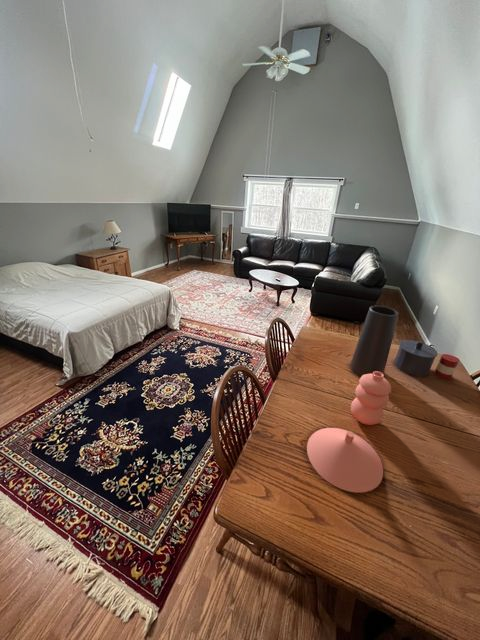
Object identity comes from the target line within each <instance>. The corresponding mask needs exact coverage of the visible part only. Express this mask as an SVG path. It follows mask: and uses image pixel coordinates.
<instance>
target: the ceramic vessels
mask: <svg viewBox="0 0 480 640" xmlns="http://www.w3.org/2000/svg"><path fill="white" fill-rule="evenodd" d="M358 382H359V383H358V384H357V386H356V387H355V396H356V397H355V398H354V399H353V400H352V402H351V404H350V412H351V414H352V416H353V417H354V419H355V420H356V421H358V422H360V423H361V424H364V425H368V426H373V425H377V424H379V423H380V422H381V421H382V420H383V417H384V407H386V406H387V404H388V403H389V401H390V396H389V394H390V393H391V392H392V385H391V383H390V381H389V380H387V379H386V378H385V375H384V374H383V373H381V372H378V371H374V372H373V374H365V375H363V376H362V377H360V378H359V380H358ZM306 453H307V457H308V459H309V463H310V464H311V466H312V468H313V469H314V470H315V471H316V472H317V473H318V475H319V476H320V477H321V478H322V479H324V481H326V482H327V483H329V484H331V485H332V486H334V487H336V488H338V489H340V490H343V491H346V492H351V493H356V494H358V493H360V494H361V493H367V492H370V491H373V490H375V489H376V488H377V487H378V486H379V485H380V484H381V483H382V480H383V477H384V467H383V462H382V460H381V458H380V456H379V454H378V452H377V451H376V450H375V448H373V446H372V445H371V444H369V442H367V441H366V440H364V439H363V438H362V437H361V436H359V435H357V434H356V433H354V432H353V431H351V430H347V429H343V428H339V427H325V428H320V429H318V430H316V431H315V432H313V433H312V434H311V435H310V437H309V438H308V440H307V444H306Z"/></svg>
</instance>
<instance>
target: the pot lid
mask: <svg viewBox="0 0 480 640" xmlns="http://www.w3.org/2000/svg"><path fill="white" fill-rule="evenodd" d="M398 346H399V347H401V349H403V350H404V351H406V352H407V353H409V354H412V355H414V356H418V357H422V358H435V359H436V357H438V354H439V353H438V351H437V350H436V349H435V348H434V347H433V346H431V345H429V344H427V343H425V341H423V340H411V339H403V340H401V341H400V342H399V343H398Z"/></svg>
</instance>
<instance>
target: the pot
mask: <svg viewBox="0 0 480 640" xmlns="http://www.w3.org/2000/svg"><path fill="white" fill-rule="evenodd" d="M435 359H436V357H435V358H422V357H418V356H414V355H412V354H409V353H407V352H406V351H404V350H403V349H401V347H400V346H399V347H398V350H397V352H396V356H395V359H394V362H393V363H394V366H395V367H396V368H397V369H399V370H400V371H402V372H404V373H406V374H408V375H412V376H416V377H425V376H428V374H429V373H430V370H431V368H432V367H433V364H434V361H435Z"/></svg>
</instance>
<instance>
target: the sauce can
mask: <svg viewBox="0 0 480 640" xmlns="http://www.w3.org/2000/svg"><path fill="white" fill-rule="evenodd" d="M459 363H460V359H459V358H458V357H456V356H455V355H452V354H449V353H443V354H441V356H440V358H439V360H438V362H437V365H436V367H435V370H434V375H435V376H436V377H439V378H440V379H441V380H442V379H443V380H446V381H447V380H452V378H453V376H454V375H455V371H456V370H457V367H458V365H459Z"/></svg>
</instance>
